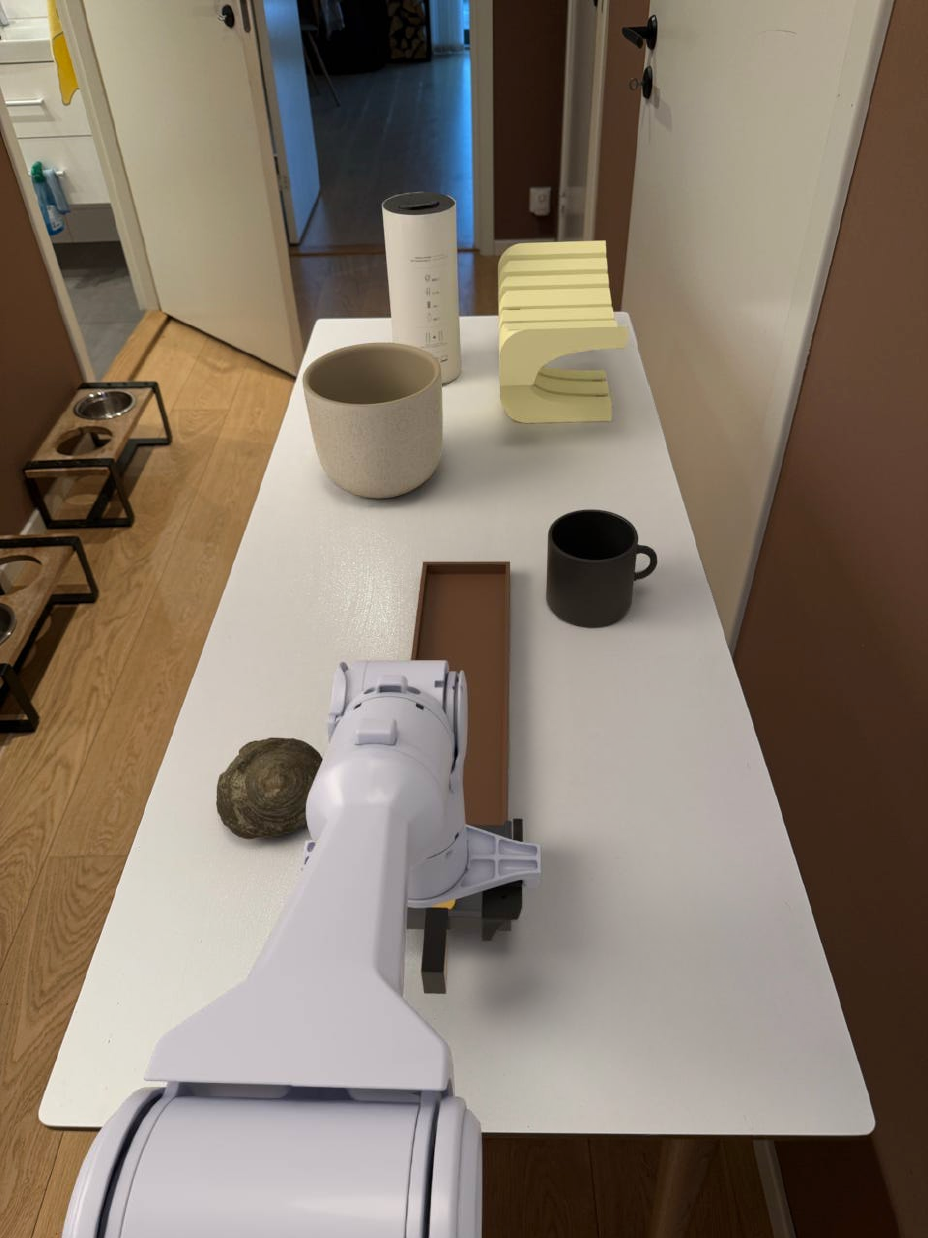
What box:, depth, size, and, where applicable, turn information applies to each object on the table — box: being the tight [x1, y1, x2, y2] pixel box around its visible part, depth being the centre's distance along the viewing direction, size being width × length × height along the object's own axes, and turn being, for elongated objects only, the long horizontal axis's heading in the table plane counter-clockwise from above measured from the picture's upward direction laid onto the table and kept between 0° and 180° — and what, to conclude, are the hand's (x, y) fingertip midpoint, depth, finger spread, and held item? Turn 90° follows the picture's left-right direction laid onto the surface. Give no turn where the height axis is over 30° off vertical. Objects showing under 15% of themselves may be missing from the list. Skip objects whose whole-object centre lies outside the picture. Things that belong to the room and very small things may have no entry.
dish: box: [406, 820, 513, 995], centre depth 70 cm, size 15×11×4 cm
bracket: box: [512, 817, 524, 842], centre depth 77 cm, size 2×13×4 cm, turn 88°
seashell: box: [215, 715, 323, 840], centre depth 80 cm, size 11×12×10 cm
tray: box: [410, 560, 511, 825], centre depth 92 cm, size 39×10×2 cm, turn 177°
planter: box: [301, 342, 444, 499], centre depth 118 cm, size 17×17×15 cm
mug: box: [545, 508, 658, 628], centre depth 100 cm, size 9×12×9 cm
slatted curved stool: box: [497, 239, 629, 424], centre depth 131 cm, size 30×16×18 cm, turn 179°
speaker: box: [381, 191, 463, 386], centre depth 137 cm, size 11×10×26 cm
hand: (430, 926), depth 63 cm, fingers open, 7 cm apart
